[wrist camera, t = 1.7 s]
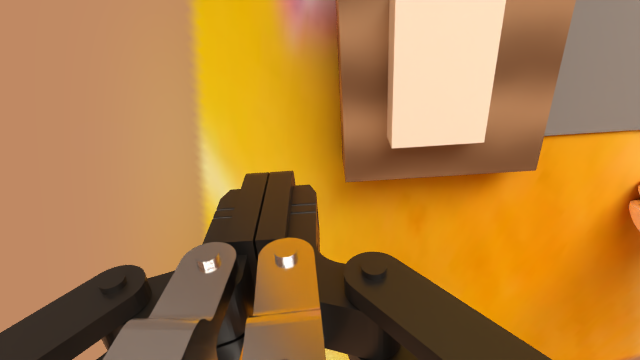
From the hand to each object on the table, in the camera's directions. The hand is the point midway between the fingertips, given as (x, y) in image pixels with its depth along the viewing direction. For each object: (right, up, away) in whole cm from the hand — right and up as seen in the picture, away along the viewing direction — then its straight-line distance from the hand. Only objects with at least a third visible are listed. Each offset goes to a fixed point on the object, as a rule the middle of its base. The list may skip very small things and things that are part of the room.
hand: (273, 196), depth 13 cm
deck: (+10, +10, +16) cm, 21 cm away
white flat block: (+9, +8, +12) cm, 17 cm away
